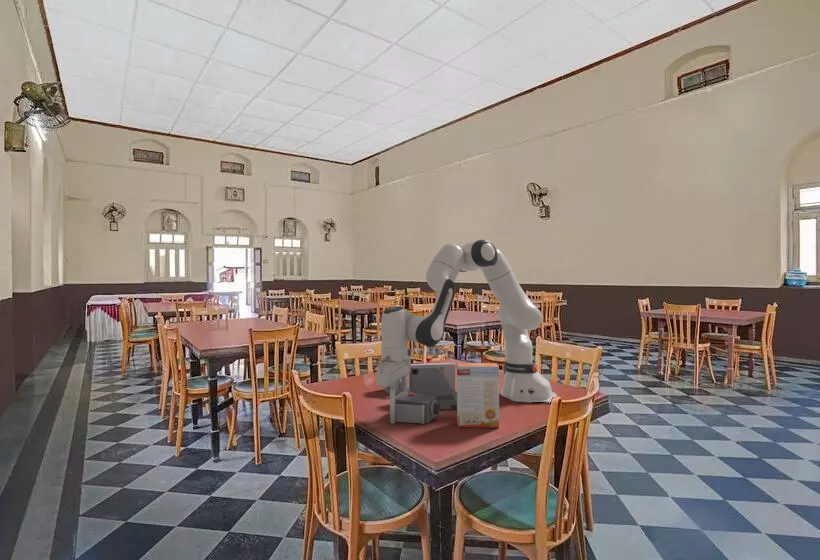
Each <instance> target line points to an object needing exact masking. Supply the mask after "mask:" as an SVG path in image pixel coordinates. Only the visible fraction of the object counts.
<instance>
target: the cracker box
mask: <svg viewBox="0 0 820 560" xmlns="http://www.w3.org/2000/svg"><path fill="white" fill-rule="evenodd" d="M499 375H500V366H499V365H498V364H497V363H495V362H492V363H490V362H475V363H474V362H457V363H456V392H457V409H456V423H457V424H456V425H457V428H484V429H485V428H486V429H487V428H488V429H489V428H491V429H494V428H495V429H499V428H500V376H499Z"/></svg>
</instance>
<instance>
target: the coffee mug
mask: <svg viewBox="0 0 820 560" xmlns="http://www.w3.org/2000/svg"><path fill="white" fill-rule="evenodd" d="M407 386H409V374H408V375H406V376H405V377H403V378H401V379H399V385H398V392H397V393H395V394H397V395H398V394H399V393H401V392H407ZM384 392H385V394H388V395H390V386H388V387H384Z"/></svg>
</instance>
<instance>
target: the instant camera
mask: <svg viewBox="0 0 820 560" xmlns="http://www.w3.org/2000/svg"><path fill="white" fill-rule="evenodd" d="M409 392H413V393H414V394H423V395H431V396H437V402H439V403H440V410H452V409H453V410H455V409H456V410H457V390H456V364H455V363H454V362H437V363H436V362H434V363H433V362H432V363H431V362H430V363H411V366H410V372H409V374H408V386H407V393H409Z"/></svg>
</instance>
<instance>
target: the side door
mask: <svg viewBox="0 0 820 560" xmlns="http://www.w3.org/2000/svg"><path fill="white" fill-rule="evenodd" d="M395 396H396V395H395V388H390V394H389V423H390V424H392V425H393V424H396V423H397V422H398V423H410V424H413V423H414V424H422V425H423V424H425V423H424V405H409V404H395Z"/></svg>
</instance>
